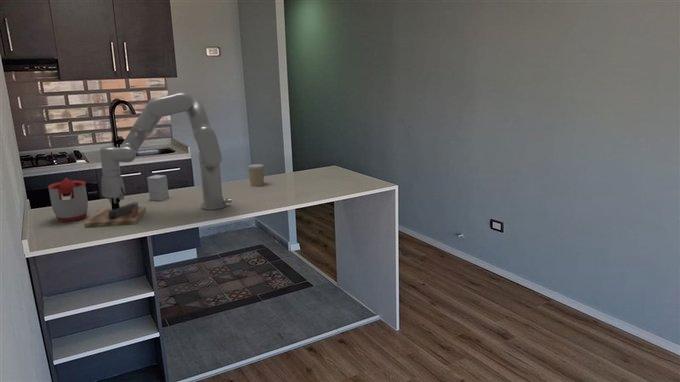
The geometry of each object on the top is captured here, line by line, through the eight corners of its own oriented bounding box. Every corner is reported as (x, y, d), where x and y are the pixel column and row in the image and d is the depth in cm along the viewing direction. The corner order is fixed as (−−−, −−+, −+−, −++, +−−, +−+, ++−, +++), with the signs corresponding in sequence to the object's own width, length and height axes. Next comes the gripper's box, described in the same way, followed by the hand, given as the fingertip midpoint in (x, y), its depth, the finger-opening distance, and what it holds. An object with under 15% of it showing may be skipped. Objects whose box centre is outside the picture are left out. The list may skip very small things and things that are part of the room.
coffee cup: (268, 184, 290) (267, 164, 287) (257, 187, 282) (256, 167, 279) (256, 182, 295) (255, 163, 292) (246, 185, 287) (244, 166, 284)
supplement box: (169, 197, 263) (167, 175, 260) (160, 201, 256) (157, 178, 253) (158, 196, 266) (155, 174, 262) (149, 200, 259) (146, 177, 255)
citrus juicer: (51, 226, 217) (43, 184, 212) (55, 216, 233) (48, 176, 228) (89, 222, 223) (83, 180, 218) (91, 212, 239) (85, 172, 234)
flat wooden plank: (146, 210, 240) (144, 199, 239) (136, 224, 220) (135, 212, 218) (99, 213, 237) (97, 202, 235) (84, 227, 216) (83, 216, 214)
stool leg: (135, 207, 237) (134, 201, 237) (140, 208, 236) (139, 202, 236) (107, 218, 221) (106, 211, 220) (113, 218, 220) (112, 212, 219)
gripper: (92, 173, 222) (97, 211, 227) (118, 176, 217) (122, 214, 222) (105, 170, 229) (109, 207, 234) (130, 172, 224) (134, 210, 229)
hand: (116, 210), depth 228 cm, fingers closed
